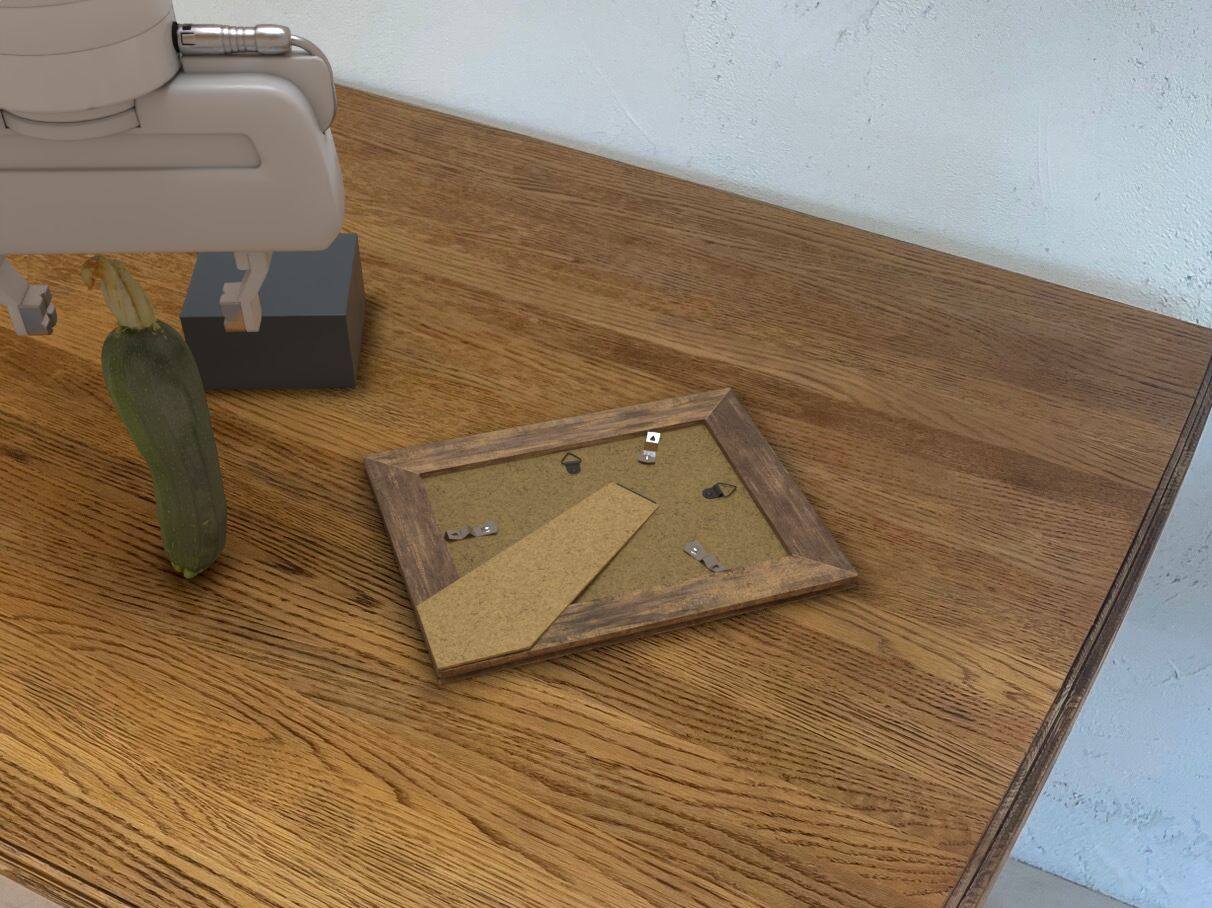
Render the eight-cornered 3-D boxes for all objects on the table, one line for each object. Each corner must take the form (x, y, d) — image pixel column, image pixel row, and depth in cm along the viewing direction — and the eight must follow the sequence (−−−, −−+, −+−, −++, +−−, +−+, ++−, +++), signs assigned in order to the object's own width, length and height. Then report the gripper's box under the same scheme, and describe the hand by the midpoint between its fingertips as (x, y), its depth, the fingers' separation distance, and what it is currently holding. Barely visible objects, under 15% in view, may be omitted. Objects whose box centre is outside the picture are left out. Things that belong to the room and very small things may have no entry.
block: (198, 398, 86) (179, 316, 82) (220, 313, 93) (203, 233, 89) (357, 395, 87) (345, 314, 83) (367, 311, 94) (357, 232, 90)
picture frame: (440, 693, 69) (854, 595, 75) (437, 668, 68) (859, 571, 74) (365, 475, 81) (727, 406, 88) (361, 451, 80) (730, 383, 86)
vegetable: (248, 548, 76) (174, 224, 62) (246, 601, 74) (167, 274, 59) (168, 555, 76) (73, 230, 62) (162, 609, 73) (62, 280, 59)
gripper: (333, -6, 56) (370, 288, 66) (-177, -6, 55) (-61, 294, 65) (319, 57, 52) (361, 361, 62) (-236, 58, 50) (-102, 370, 60)
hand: (142, 327), depth 63 cm, fingers open, 8 cm apart
